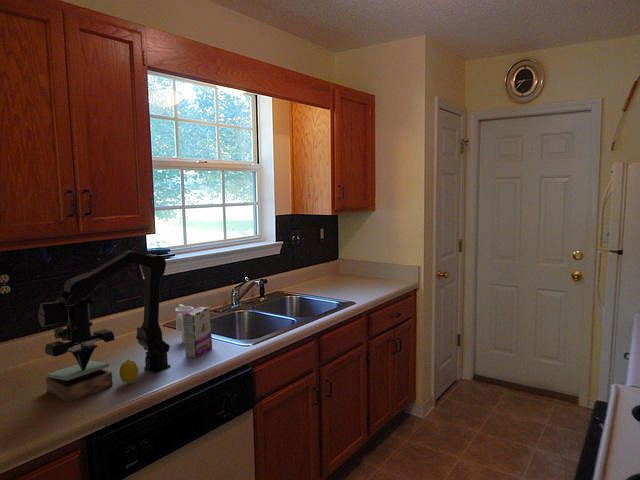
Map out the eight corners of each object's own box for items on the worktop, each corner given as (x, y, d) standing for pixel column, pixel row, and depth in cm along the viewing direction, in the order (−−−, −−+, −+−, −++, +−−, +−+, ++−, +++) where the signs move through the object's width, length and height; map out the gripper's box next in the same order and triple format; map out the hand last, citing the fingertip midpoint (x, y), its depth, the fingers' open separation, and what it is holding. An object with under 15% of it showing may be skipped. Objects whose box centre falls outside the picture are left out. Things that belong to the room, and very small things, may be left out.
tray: (91, 376, 157) (90, 363, 156) (112, 386, 149) (111, 372, 149) (47, 391, 146) (45, 378, 145) (67, 402, 138) (66, 388, 137)
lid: (89, 363, 156) (88, 360, 156) (109, 366, 148) (109, 363, 148) (47, 377, 145) (47, 373, 145) (67, 380, 138) (66, 377, 138)
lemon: (141, 380, 153) (139, 356, 152) (135, 387, 148) (133, 362, 147) (124, 380, 153) (122, 356, 152) (117, 387, 148) (115, 363, 147)
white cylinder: (189, 338, 195) (187, 302, 193) (198, 341, 190) (196, 305, 188) (173, 342, 190) (171, 306, 188) (182, 346, 185) (180, 309, 183)
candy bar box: (201, 347, 184) (199, 306, 182) (212, 348, 182) (210, 307, 180) (184, 357, 173) (182, 313, 171) (196, 358, 172) (193, 314, 170)
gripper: (95, 310, 155) (98, 355, 157) (34, 323, 140) (38, 373, 142) (113, 314, 149) (117, 362, 150) (52, 328, 134) (56, 381, 135)
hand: (83, 369), depth 145 cm, fingers closed, pressing on lid
